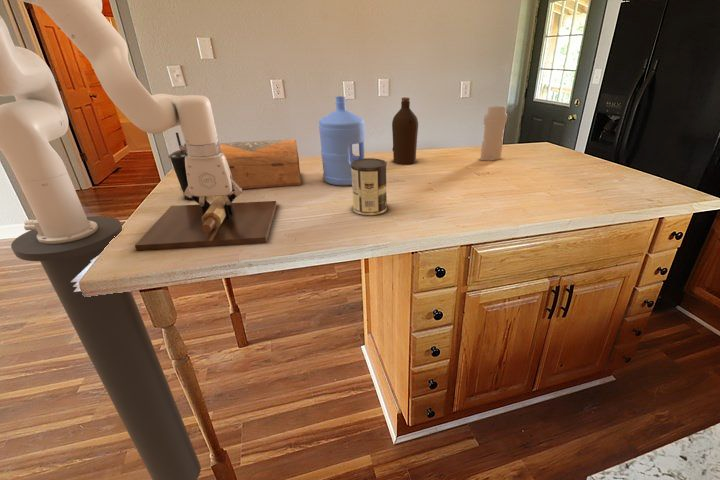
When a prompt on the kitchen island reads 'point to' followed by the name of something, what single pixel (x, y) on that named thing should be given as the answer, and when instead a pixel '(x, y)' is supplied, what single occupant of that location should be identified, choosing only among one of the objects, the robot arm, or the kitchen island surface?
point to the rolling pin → (214, 215)
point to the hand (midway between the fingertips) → (219, 217)
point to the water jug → (340, 143)
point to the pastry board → (186, 229)
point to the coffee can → (369, 186)
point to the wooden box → (263, 163)
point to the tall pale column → (493, 133)
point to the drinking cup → (180, 166)
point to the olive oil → (404, 134)
